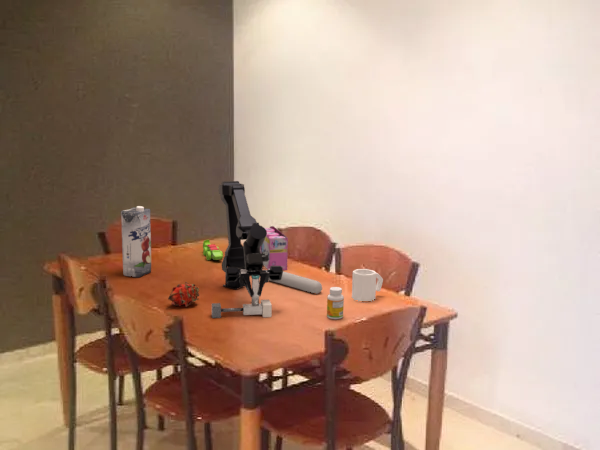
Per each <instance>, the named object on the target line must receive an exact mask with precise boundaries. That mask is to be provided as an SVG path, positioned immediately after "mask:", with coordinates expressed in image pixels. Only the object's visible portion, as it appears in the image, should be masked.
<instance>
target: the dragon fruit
mask: <svg viewBox="0 0 600 450" xmlns="http://www.w3.org/2000/svg"><path fill="white" fill-rule="evenodd" d="M184 283H185V284H183V283H178V284H176V286H173V288H172V289H171V292H170V294H169V297H168V301H171V305H172V306H174V307H176V306H177V307H181V306H184V305H185V307H186V308H188V306H191V305H193V303H194V302H196V301H199V300H200V298H199V297H200V293H199V292H200V290H199V289H200V288H199V287H198V286H196V284H195V283H190V284H189V283H188V282H187V281H185V282H184Z"/></svg>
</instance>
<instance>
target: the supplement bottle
mask: <svg viewBox="0 0 600 450" xmlns="http://www.w3.org/2000/svg"><path fill="white" fill-rule="evenodd" d="M342 293H343V288H342V287H339V286H331V287H330V288H329V294H328V295H327V298H326V299H327V301H326V303H327V305H326V317H327V318H328V319H330V320H341V319H343V317H344V307H345V305H344V304H345V303H344V302H345V297H344V295H343V294H342Z"/></svg>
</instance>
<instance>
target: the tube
mask: <svg viewBox="0 0 600 450" xmlns="http://www.w3.org/2000/svg"><path fill="white" fill-rule="evenodd" d="M267 270H270V269H267ZM268 282H273V283H277V284H278V285H279V284H280V285H283V286H285V287H286V286H287V287H290V288H293V289H297V290H300V291H304V292H306V291H307V293H310V292H311V293H310V294H313V293H316V294H315V295H317V294H319V293H321V292H322V290H323V285H322V283H321V282H320V281H319V280H315V279H312V278H308V277H304V276H301V275H297V274H294V273H290V272H286V271H283V274H282V278H281V280H274V281H272V280H271V279H269V280H268Z"/></svg>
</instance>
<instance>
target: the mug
mask: <svg viewBox="0 0 600 450" xmlns="http://www.w3.org/2000/svg"><path fill="white" fill-rule="evenodd" d="M351 279H352V281H351V299H352V298H353V299H354V300H353V299H352V300H353V301H355V300H358V301H357V302H359V301H371V302H373V301H375V300H376V292H381V290H382V289H381V288H382V286H383V281H384V279H383V277H382V276H381V275H380V274H379V273H378V272H376V271H375V270H373V269H369V268H357V269H354V270H353V271H352V278H351ZM374 299H375V300H374ZM372 300H373V301H372Z"/></svg>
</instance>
